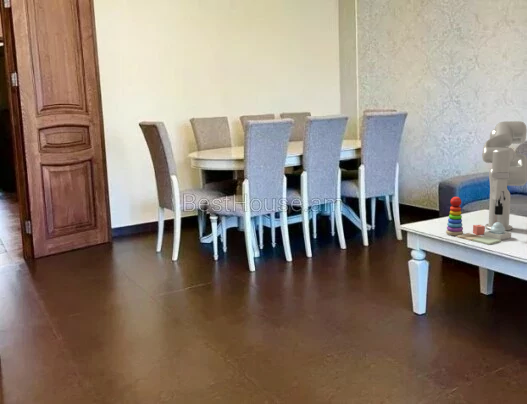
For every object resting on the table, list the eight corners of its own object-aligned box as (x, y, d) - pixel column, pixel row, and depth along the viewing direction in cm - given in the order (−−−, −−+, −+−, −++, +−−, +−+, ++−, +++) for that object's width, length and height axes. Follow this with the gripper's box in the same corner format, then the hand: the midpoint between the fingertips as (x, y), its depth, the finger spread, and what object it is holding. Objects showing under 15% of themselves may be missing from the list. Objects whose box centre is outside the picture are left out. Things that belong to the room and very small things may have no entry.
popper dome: (488, 232, 259) (488, 222, 258) (495, 230, 262) (496, 220, 261) (499, 235, 254) (499, 224, 253) (507, 233, 257) (507, 222, 256)
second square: (472, 241, 253) (472, 239, 253) (484, 238, 257) (484, 236, 257) (488, 244, 246) (488, 243, 246) (500, 241, 250) (500, 240, 250)
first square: (456, 237, 260) (456, 235, 260) (468, 234, 265) (468, 233, 265) (471, 240, 253) (472, 239, 253) (483, 238, 258) (483, 236, 258)
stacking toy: (442, 233, 268) (443, 196, 265) (453, 231, 272) (455, 194, 268) (455, 236, 261) (456, 198, 258) (466, 234, 265) (468, 196, 262)
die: (472, 232, 268) (473, 224, 267) (480, 232, 268) (481, 223, 267) (476, 234, 264) (477, 226, 263) (484, 234, 264) (485, 225, 263)
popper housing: (483, 237, 259) (484, 231, 259) (494, 234, 264) (495, 229, 263) (499, 240, 252) (500, 235, 252) (511, 237, 257) (511, 232, 256)
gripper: (488, 173, 260) (486, 211, 263) (495, 177, 246) (493, 217, 249) (504, 173, 259) (502, 211, 262) (513, 177, 245) (511, 217, 248)
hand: (498, 214), depth 255 cm, fingers closed
